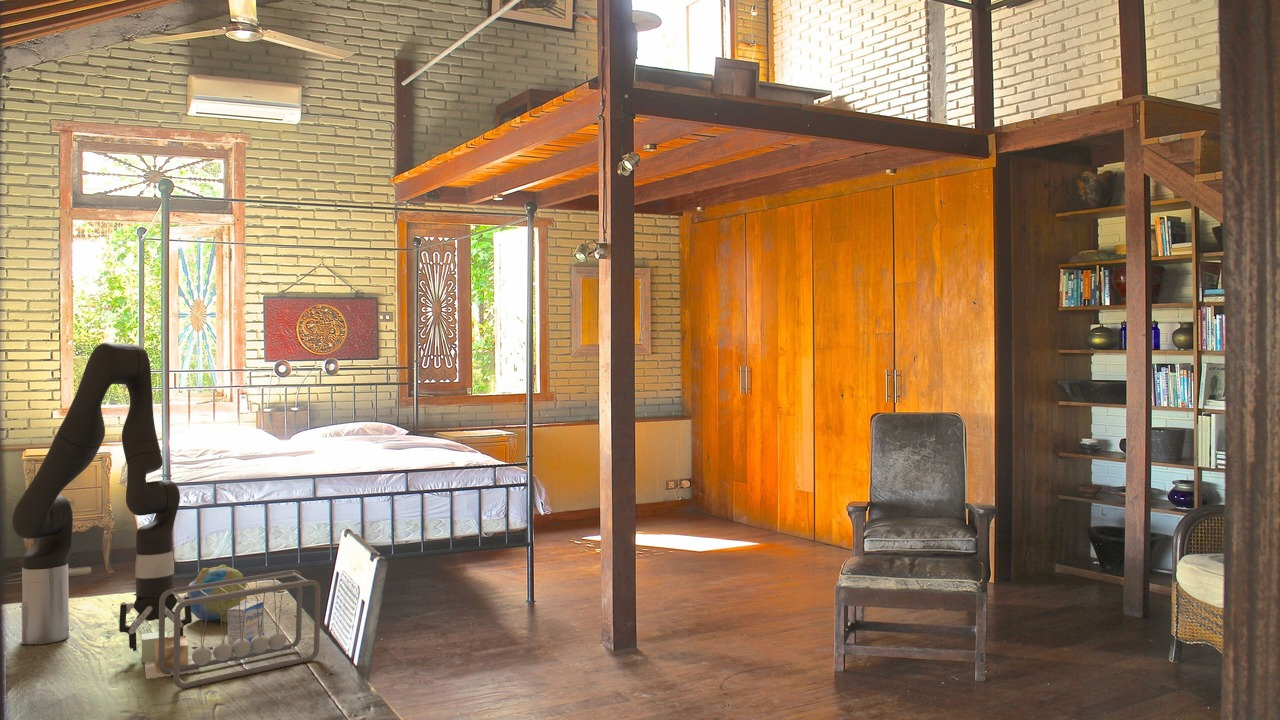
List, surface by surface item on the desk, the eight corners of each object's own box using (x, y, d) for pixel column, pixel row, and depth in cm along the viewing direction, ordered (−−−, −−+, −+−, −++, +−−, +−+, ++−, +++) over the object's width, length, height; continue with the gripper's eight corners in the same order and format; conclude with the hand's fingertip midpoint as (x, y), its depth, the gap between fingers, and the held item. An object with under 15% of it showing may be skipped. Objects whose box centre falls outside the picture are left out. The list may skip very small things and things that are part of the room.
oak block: (156, 673, 209) (156, 649, 209) (155, 662, 216) (155, 639, 216) (188, 669, 211) (188, 645, 211) (186, 658, 219) (185, 635, 218)
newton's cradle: (174, 691, 199) (175, 603, 198) (157, 675, 207) (158, 589, 206) (319, 659, 219) (321, 579, 218) (299, 645, 227) (301, 567, 226)
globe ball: (185, 557, 251) (222, 566, 243) (238, 565, 264) (275, 574, 256) (168, 614, 248) (206, 625, 240) (223, 619, 261) (260, 630, 253)
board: (145, 679, 207) (145, 676, 207) (144, 665, 216) (144, 662, 216) (199, 671, 211) (199, 669, 211) (196, 658, 220) (196, 656, 220)
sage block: (142, 663, 218) (141, 640, 218) (141, 656, 222) (141, 634, 222) (167, 659, 220) (167, 636, 220) (167, 653, 224) (166, 631, 224)
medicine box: (244, 648, 228) (244, 609, 228) (227, 647, 229) (226, 608, 229) (264, 638, 236) (264, 601, 236) (247, 637, 237) (247, 600, 237)
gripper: (189, 566, 228) (190, 638, 228) (118, 573, 221) (119, 647, 221) (191, 572, 221) (193, 646, 221) (118, 580, 214) (119, 656, 215)
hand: (156, 647), depth 221 cm, fingers open, 8 cm apart
